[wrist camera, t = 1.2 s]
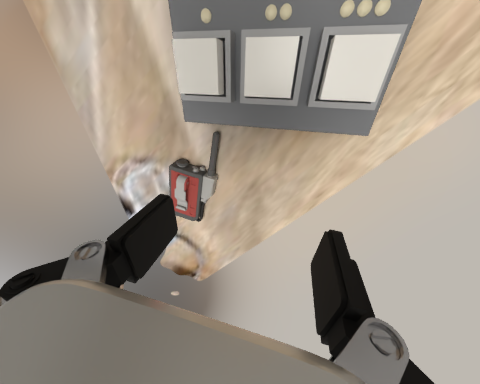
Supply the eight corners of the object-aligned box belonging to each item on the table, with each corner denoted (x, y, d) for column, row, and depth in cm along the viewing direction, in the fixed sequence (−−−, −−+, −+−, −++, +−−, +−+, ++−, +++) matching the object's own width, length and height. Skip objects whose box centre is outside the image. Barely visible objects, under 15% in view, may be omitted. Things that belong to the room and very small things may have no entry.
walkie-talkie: (211, 220, 40) (225, 131, 29) (203, 234, 36) (216, 139, 25) (175, 208, 41) (176, 117, 30) (164, 220, 37) (159, 122, 26)
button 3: (331, 39, 17) (335, 35, 16) (390, 38, 16) (401, 33, 15) (318, 98, 20) (320, 99, 18) (367, 100, 19) (375, 101, 17)
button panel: (177, 6, 22) (157, -8, 18) (416, -10, 17) (446, -32, 13) (190, 119, 29) (177, 124, 25) (362, 132, 24) (373, 140, 20)
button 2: (250, 41, 19) (245, 37, 17) (299, 40, 18) (299, 36, 16) (247, 95, 21) (244, 96, 20) (290, 96, 20) (290, 98, 19)
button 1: (181, 42, 20) (171, 38, 19) (222, 41, 19) (216, 37, 18) (187, 92, 23) (179, 93, 21) (224, 94, 22) (218, 95, 20)
